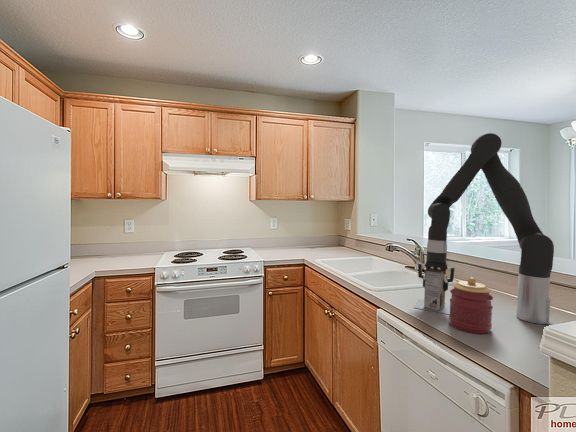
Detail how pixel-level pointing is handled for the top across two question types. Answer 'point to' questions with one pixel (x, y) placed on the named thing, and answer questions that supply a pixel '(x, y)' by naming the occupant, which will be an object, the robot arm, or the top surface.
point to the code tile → (444, 309)
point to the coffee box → (434, 289)
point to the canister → (471, 307)
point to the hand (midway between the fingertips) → (434, 289)
